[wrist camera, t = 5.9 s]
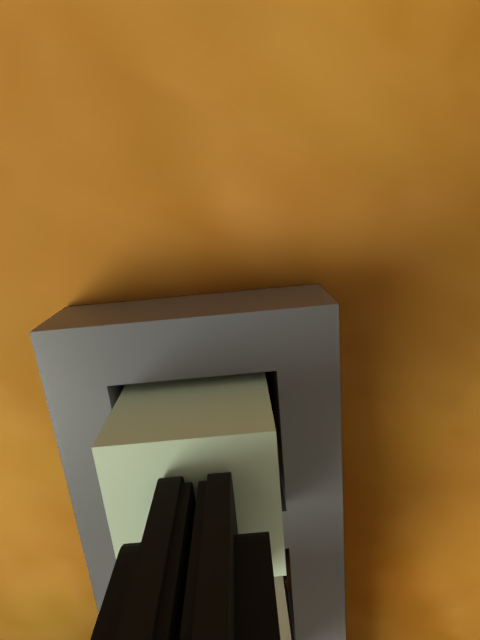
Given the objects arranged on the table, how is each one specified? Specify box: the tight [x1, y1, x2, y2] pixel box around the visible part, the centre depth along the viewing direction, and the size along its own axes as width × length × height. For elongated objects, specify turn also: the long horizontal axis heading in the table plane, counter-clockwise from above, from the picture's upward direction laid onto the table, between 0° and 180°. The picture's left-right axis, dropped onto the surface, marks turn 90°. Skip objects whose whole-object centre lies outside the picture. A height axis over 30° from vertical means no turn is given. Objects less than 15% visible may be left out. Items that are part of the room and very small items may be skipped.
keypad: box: [30, 284, 346, 640], centre depth 16 cm, size 26×8×2 cm, turn 5°
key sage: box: [91, 372, 287, 577], centre depth 12 cm, size 4×4×4 cm
